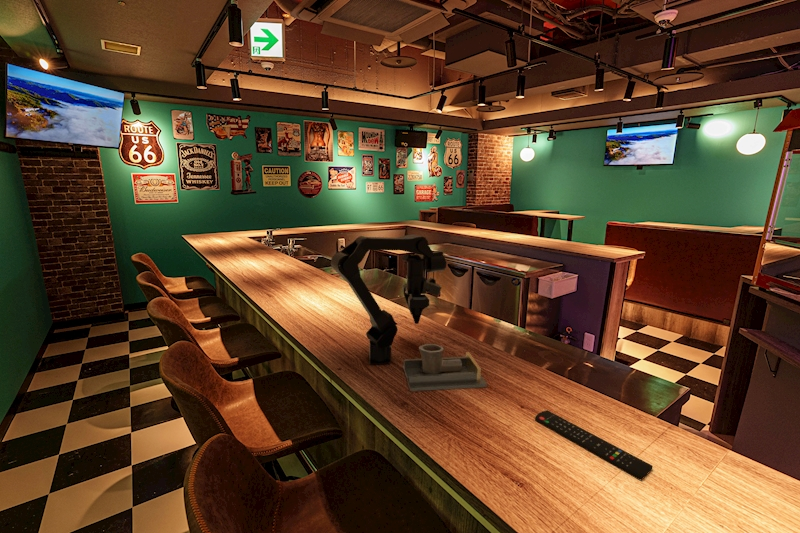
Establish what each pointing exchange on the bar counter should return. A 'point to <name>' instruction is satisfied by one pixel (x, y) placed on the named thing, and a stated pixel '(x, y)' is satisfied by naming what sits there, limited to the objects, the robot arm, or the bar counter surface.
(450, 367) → the pipe
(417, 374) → the pipe cradle
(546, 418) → the remote control
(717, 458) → the bar counter surface
